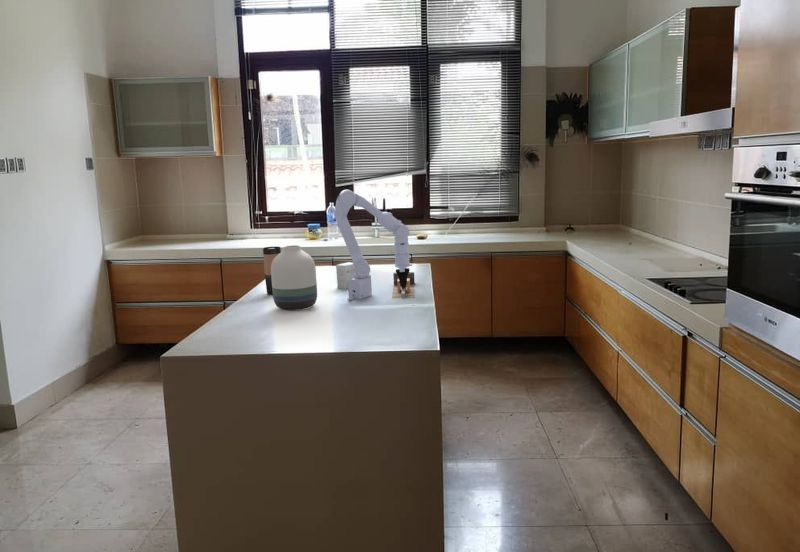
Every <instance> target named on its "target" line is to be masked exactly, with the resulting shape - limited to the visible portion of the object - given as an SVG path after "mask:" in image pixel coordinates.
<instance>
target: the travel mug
mask: <svg viewBox="0 0 800 552" xmlns="http://www.w3.org/2000/svg"><path fill="white" fill-rule="evenodd" d="M281 249H282V248H281V246H266V247H264V248H263V249H262V253H263V254H262V255H263V269H264V278H265V279H264V280H265V288H266V294H267V295H269V296H273V290H272V278H271V265H272V261H273V260H274V258H275V257H276V256H277V255H278V254H280V253H281V252H282V251H281Z"/></svg>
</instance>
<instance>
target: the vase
mask: <svg viewBox="0 0 800 552" xmlns="http://www.w3.org/2000/svg"><path fill="white" fill-rule="evenodd" d="M271 278H272V290H273V295H272V298H273V302H274V304H275V305H276V307H277V308H278V309H280V310H283V311H300V310H306V309H309V308H311V307H314V305H315V304H316V302H317V299H318V285H317V283H318V282H317V268H316V264H315V260H314V259H313V257H312V256H311V255H310V254H308V253H307V252H305V251H304V250H303V249H302V248H301V245H295V244H293V245H285V246H283V247H282V251H281V253H280V254H278V255H277V256H276V257H275V258H274V260H273V261H272V265H271Z"/></svg>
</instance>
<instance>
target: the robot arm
mask: <svg viewBox="0 0 800 552" xmlns="http://www.w3.org/2000/svg"><path fill="white" fill-rule="evenodd" d="M352 207H358V208H362V209H364V210H365V211H366V212H368V213H369V214H370V215H372V216H373V217H375V218H376V219H377V223H378V224H379V225H380V226H381V227H383V228H384V229H386V230H387V231H388V232H390V233H392V235H393V236H394V260H395V261H394V263H395V264H394V267H395V268H397V269H395V273H397V275H398V277H399V282H400V286H401V287H406V284H407V276H408V273H409V272H411V271H410V268H409V267H412V266H413V263H410V246H409V235H410V231H409V227H408V226H407V225H405V224H404V223H402V220H400V219H397V218H396V217H395V216H393V213H391V212H390V211H389V212H388V211H381V210H380V209H379V208H377V207H376V206H375V205H373V204H372V203H371V202H370V201H368V200H367V199H366V198H365V197H363V196H362V195H359V194H358V193H355V192H354V191H352V190H350V189H343V190H341V191H340V193H339V194H338V196H337V197H336V201H335V207H334V212H333V216H334V218H335V221H336V224H337V225H338V229H339V231H340V233H341V235H342V238H343V241H344V243H345V245H346V248H347V249H348V250H347V251H348V253H349V255H350V258H351V260H352V263H353V269H354V271H355V274H354V275H353V279H352V280H350V281H349V283H348V289H347V290H348V297H347V300H348V301H353V300H354V299H358V300H359V299H360V300H361V299H364V298H368V297H371V296H372V295H373V289H372V287H373V286H372V274H371V265H369V263H368V261H367V260H366V259H365V258H364V256H363V253H362V250H361V248H360V246H359V244H358V241H357V238H356V236H355V234H354V232H353V229H352V227H351V224H350V221H349V219H348V216H347V215H348V213H349V212H350V209H351V208H352Z"/></svg>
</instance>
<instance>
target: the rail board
mask: <svg viewBox="0 0 800 552" xmlns="http://www.w3.org/2000/svg"><path fill="white" fill-rule="evenodd" d="M407 278H410V292H407V286H406V287H401V286H400V292H398V287H397V280H398V279H399V277H398V275H397V273H396V272H393V289H392V295H391V299H392V300H393V299H395V300H396V299H413V298H414V299H415V297H416V294H415V291H416V290H415V289H416V288H415V287H416V286H415V284H416V283H415V282H416V281H415V271H409V273H408V276H407Z"/></svg>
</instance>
